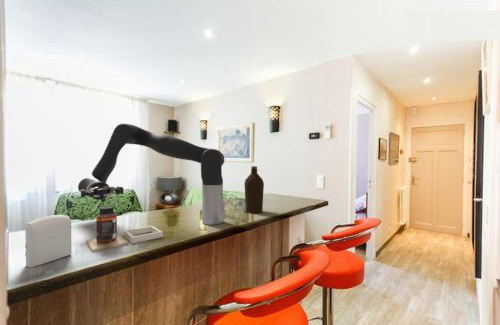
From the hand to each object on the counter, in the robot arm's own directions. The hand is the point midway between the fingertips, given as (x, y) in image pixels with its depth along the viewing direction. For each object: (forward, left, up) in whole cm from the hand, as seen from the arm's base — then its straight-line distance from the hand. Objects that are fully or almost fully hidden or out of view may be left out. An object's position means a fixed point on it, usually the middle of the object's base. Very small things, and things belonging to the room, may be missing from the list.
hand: (106, 193), depth 91 cm
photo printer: (+17, +16, -16) cm, 28 cm away
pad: (+2, +11, -16) cm, 19 cm away
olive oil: (-70, +5, -16) cm, 72 cm away
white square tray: (-10, +11, -16) cm, 22 cm away
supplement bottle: (+2, +11, -15) cm, 19 cm away
